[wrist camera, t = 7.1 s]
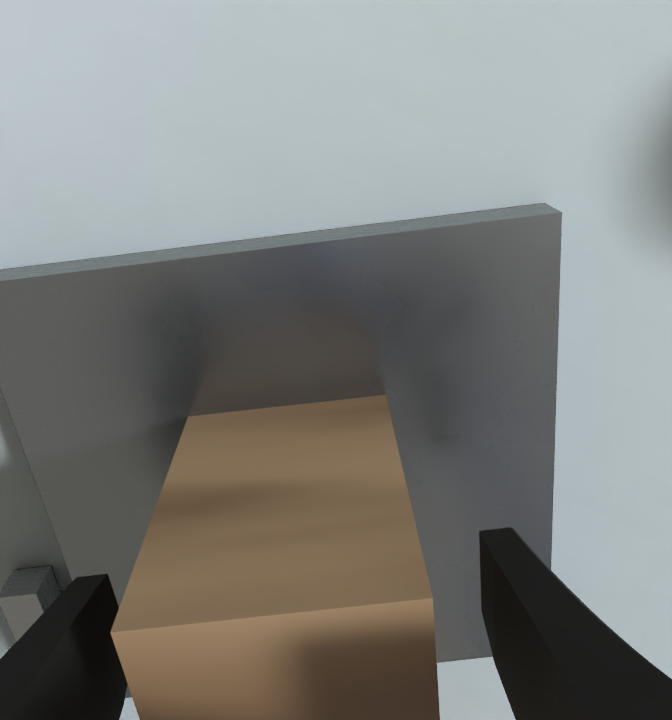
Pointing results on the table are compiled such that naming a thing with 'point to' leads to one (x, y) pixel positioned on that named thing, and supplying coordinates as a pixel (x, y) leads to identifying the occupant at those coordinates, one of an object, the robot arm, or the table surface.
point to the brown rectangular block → (282, 574)
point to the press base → (295, 381)
